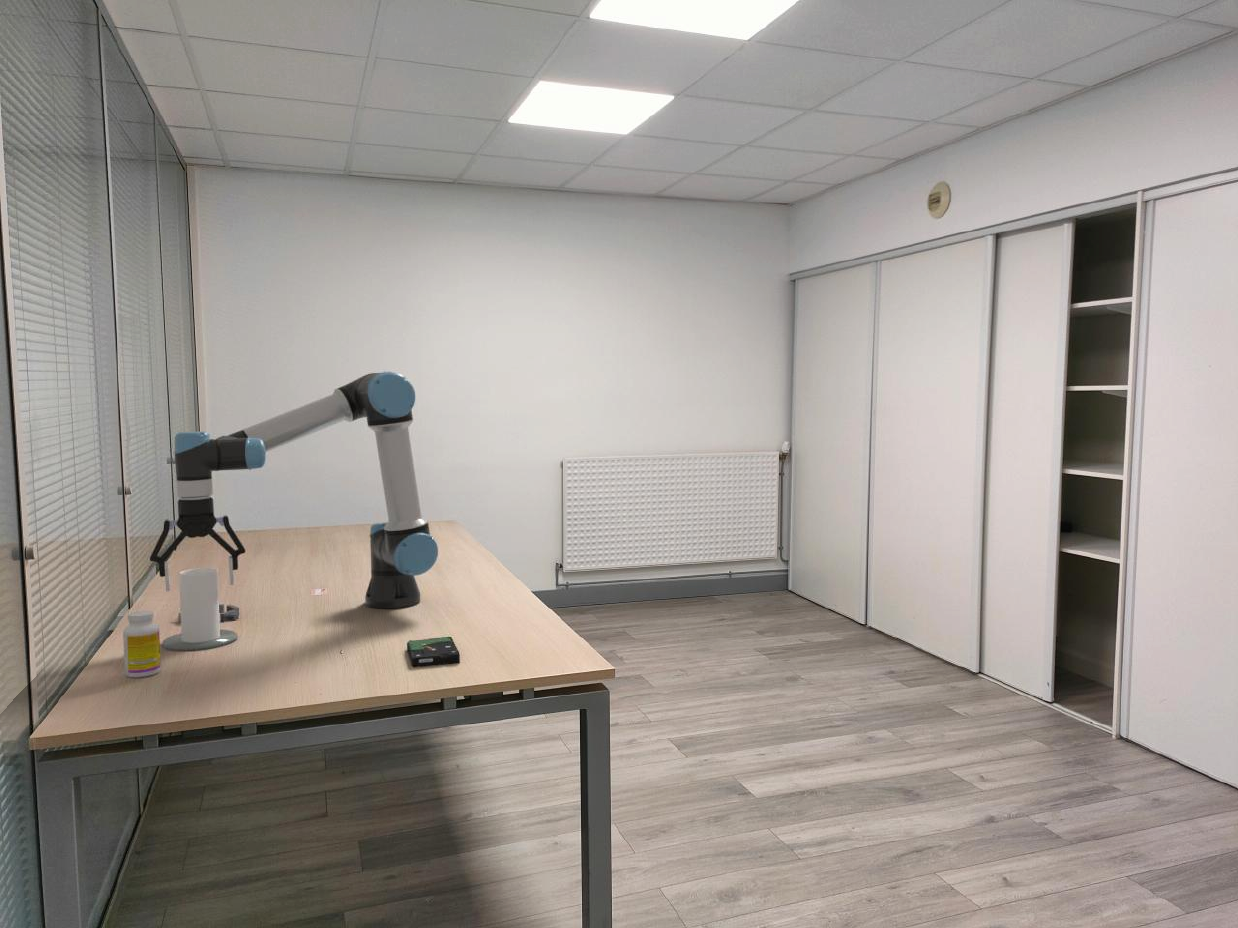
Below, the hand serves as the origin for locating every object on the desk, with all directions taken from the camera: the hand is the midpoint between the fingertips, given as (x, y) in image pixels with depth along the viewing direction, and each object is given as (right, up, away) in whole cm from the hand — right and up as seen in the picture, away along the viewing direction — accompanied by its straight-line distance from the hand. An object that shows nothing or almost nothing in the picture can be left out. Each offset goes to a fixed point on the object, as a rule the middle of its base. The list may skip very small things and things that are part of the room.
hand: (200, 587), depth 208 cm
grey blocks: (-9, -11, +24) cm, 28 cm away
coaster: (0, -13, +1) cm, 13 cm away
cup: (0, -12, +1) cm, 12 cm away
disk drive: (+57, -15, -11) cm, 60 cm away
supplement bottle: (-1, -15, -24) cm, 28 cm away
